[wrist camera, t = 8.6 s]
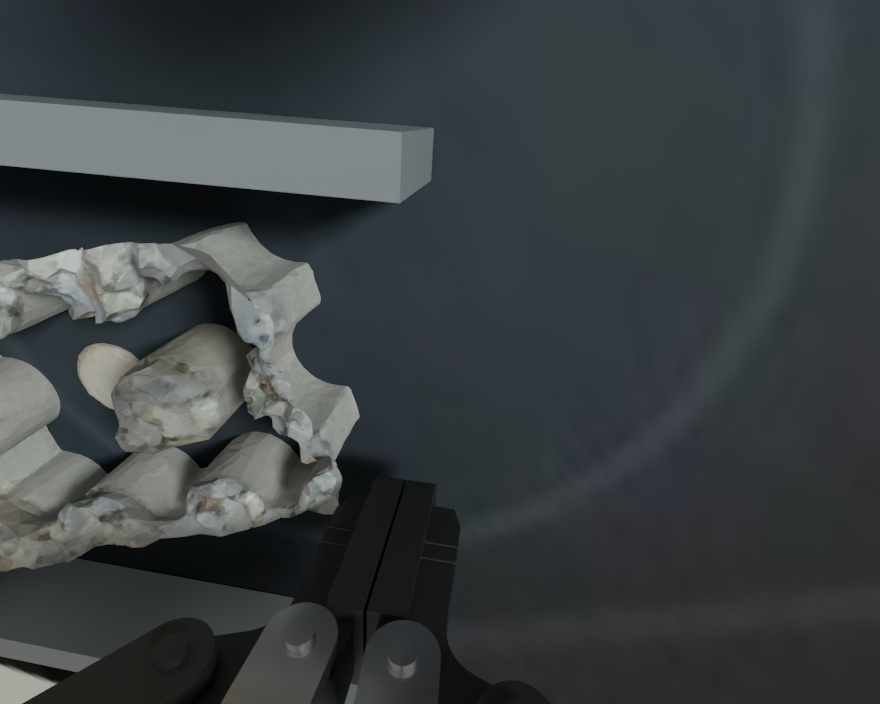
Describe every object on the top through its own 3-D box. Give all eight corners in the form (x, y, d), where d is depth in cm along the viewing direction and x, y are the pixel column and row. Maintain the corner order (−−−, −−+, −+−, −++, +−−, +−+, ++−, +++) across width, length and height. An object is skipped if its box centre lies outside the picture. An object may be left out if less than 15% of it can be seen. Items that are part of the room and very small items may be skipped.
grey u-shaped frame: (-209, 77, 11) (-438, 64, 9) (433, 127, 10) (401, 132, 7) (13, 564, 18) (-73, 641, 16) (405, 637, 17) (383, 735, 14)
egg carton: (77, 475, 16) (-53, 580, 13) (-52, 253, 13) (-274, 307, 9) (382, 466, 14) (333, 589, 10) (314, 198, 11) (210, 240, 7)
